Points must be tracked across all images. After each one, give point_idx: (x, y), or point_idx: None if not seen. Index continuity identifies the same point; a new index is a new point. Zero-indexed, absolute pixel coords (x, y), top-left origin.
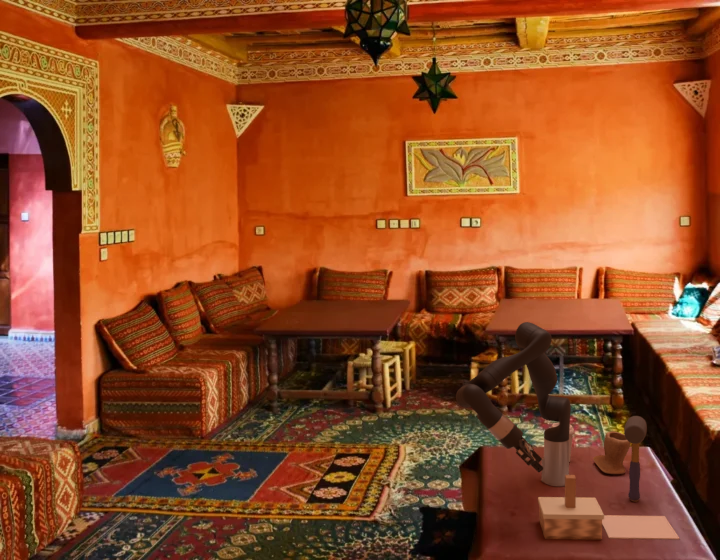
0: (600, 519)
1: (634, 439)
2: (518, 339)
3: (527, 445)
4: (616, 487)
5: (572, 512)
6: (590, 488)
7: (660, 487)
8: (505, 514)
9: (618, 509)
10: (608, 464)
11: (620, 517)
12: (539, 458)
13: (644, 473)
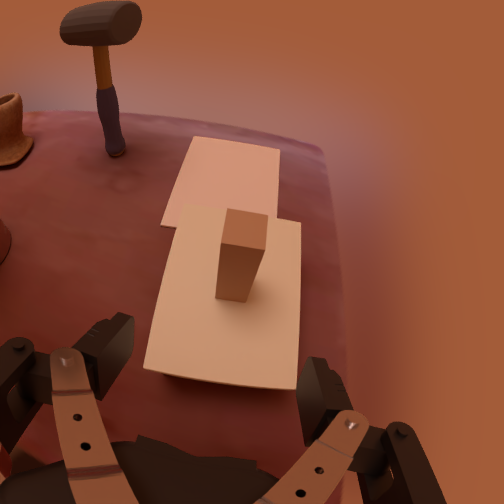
0: None
1: (128, 32)
2: None
3: (113, 456)
4: (59, 161)
5: (284, 295)
6: (40, 198)
7: (93, 116)
8: None
9: (140, 182)
10: (10, 148)
11: (182, 191)
12: (126, 331)
13: (46, 123)
